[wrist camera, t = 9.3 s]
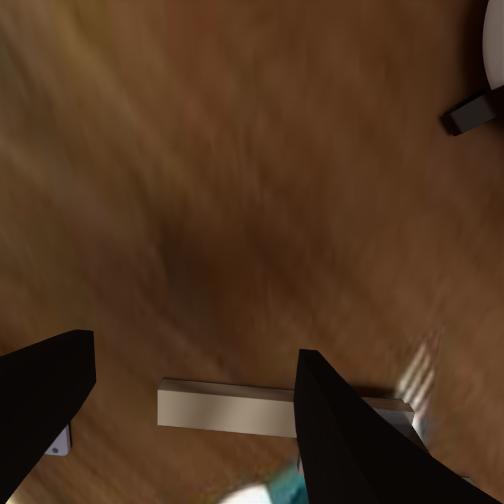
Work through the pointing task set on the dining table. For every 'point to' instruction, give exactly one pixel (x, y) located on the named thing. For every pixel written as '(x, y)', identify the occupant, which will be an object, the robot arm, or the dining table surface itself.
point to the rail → (229, 407)
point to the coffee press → (498, 74)
